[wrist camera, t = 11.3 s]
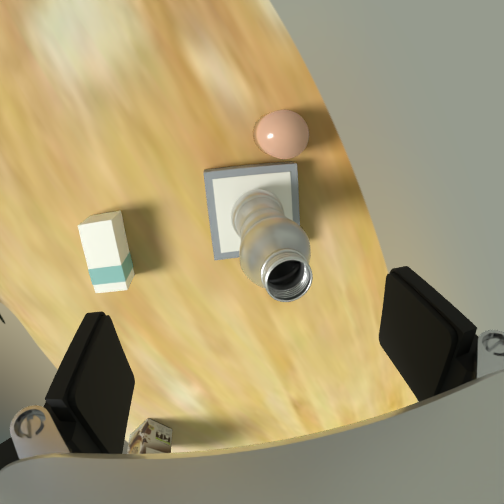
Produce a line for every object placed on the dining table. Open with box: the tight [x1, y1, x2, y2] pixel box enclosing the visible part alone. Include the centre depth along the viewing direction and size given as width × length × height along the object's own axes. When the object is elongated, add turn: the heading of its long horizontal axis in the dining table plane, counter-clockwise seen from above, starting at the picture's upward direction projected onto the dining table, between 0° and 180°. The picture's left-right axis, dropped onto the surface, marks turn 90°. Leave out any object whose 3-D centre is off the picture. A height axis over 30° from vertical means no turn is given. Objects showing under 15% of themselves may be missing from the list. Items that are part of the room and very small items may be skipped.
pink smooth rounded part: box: [253, 110, 309, 159], centre depth 39 cm, size 6×6×6 cm
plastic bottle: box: [231, 189, 312, 302], centre depth 33 cm, size 6×7×20 cm
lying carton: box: [78, 211, 135, 293], centre depth 42 cm, size 10×5×5 cm, turn 5°
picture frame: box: [204, 161, 300, 260], centre depth 44 cm, size 12×12×3 cm
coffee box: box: [127, 419, 172, 454], centre depth 53 cm, size 9×6×16 cm
